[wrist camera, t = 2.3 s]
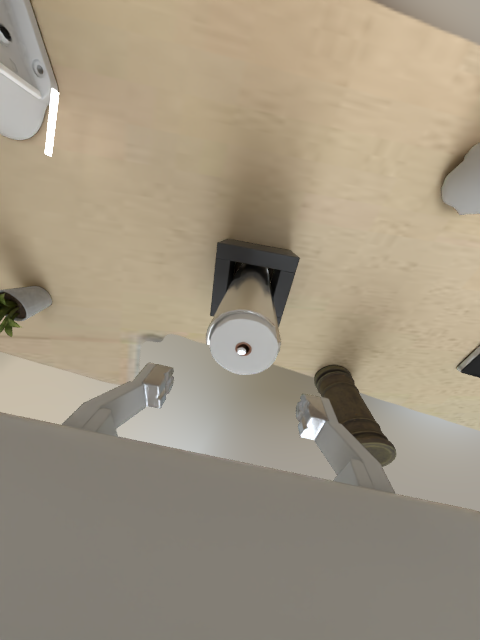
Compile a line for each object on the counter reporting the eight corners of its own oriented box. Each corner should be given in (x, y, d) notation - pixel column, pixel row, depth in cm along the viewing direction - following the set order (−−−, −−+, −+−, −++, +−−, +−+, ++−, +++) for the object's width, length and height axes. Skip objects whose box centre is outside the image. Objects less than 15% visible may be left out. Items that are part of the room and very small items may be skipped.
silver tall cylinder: (239, 256, 35) (205, 307, 13) (272, 262, 35) (293, 324, 13) (234, 288, 38) (199, 373, 16) (264, 294, 38) (271, 387, 16)
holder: (227, 238, 34) (217, 242, 26) (290, 250, 34) (299, 257, 26) (220, 297, 40) (210, 315, 32) (274, 308, 40) (278, 329, 32)
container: (327, 359, 44) (364, 434, 28) (358, 373, 45) (412, 453, 29) (306, 383, 48) (329, 461, 32) (336, 395, 49) (372, 476, 33)
